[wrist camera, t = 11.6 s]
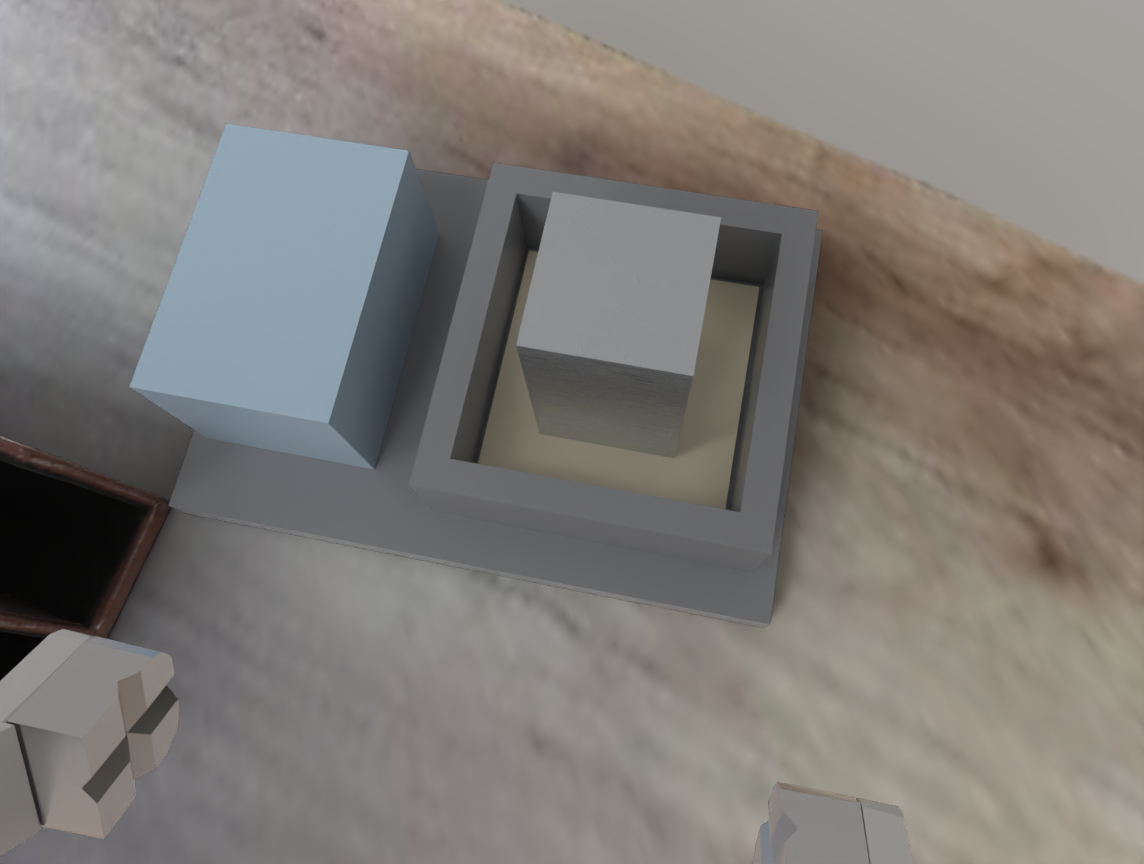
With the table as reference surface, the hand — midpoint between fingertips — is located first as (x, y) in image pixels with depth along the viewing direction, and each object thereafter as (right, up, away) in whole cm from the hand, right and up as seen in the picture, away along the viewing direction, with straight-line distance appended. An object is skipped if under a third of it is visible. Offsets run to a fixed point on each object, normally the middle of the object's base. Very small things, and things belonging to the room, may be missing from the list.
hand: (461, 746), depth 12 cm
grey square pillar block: (+3, +6, +18) cm, 19 cm away
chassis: (-1, +6, +20) cm, 21 cm away
